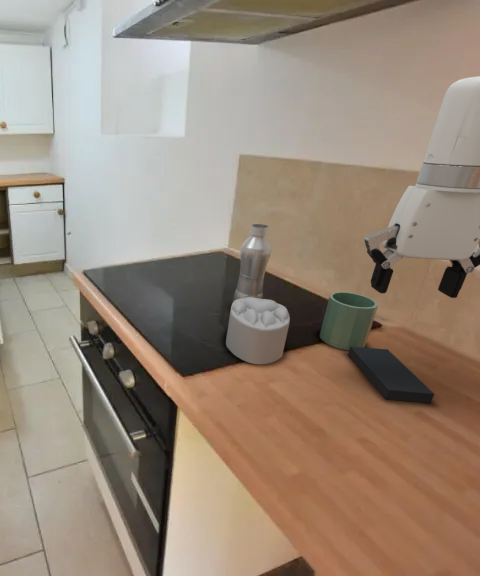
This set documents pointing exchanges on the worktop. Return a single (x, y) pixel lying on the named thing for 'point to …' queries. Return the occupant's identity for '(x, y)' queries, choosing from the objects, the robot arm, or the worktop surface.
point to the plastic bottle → (253, 263)
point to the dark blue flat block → (390, 375)
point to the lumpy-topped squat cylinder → (257, 330)
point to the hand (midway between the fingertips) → (411, 292)
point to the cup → (348, 320)
